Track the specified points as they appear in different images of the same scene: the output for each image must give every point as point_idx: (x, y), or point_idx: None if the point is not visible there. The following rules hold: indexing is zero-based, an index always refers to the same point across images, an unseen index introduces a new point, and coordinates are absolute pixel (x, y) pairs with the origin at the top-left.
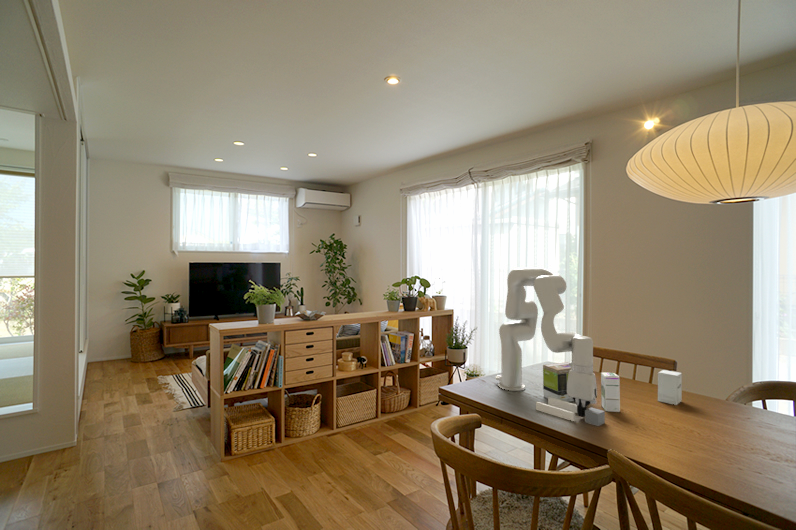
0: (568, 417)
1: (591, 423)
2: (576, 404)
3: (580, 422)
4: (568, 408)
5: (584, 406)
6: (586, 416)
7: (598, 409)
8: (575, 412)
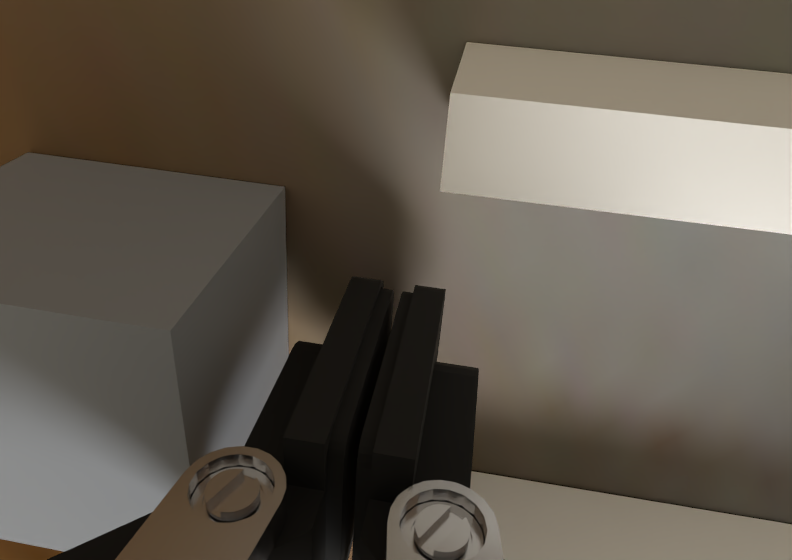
0: (612, 69)
1: (147, 175)
2: (475, 507)
3: (338, 109)
4: (746, 551)
5: (198, 464)
6: (201, 243)
7: (46, 543)
8: (596, 496)
